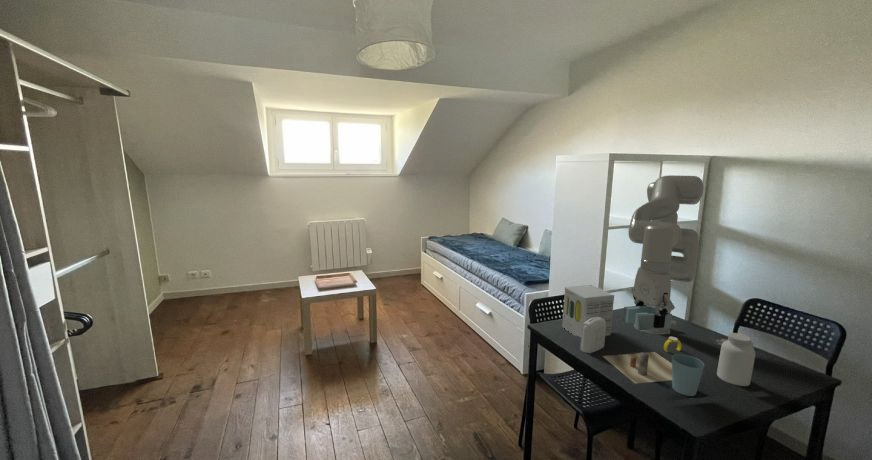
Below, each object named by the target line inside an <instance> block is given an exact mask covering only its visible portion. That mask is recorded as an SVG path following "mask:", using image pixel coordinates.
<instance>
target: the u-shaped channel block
mask: <svg viewBox="0 0 872 460" xmlns="http://www.w3.org/2000/svg"><path fill="white" fill-rule="evenodd" d="M661 310H662V309H661V308H660V311H661ZM655 315H657V314H656V310H655V307H654V306H651V305H649V306H636V305H634V306H623V317H622V321H623V322H625V323H626V324H634V323H635V327H634V328H636V329H638V330H652V329H667V328H669V329H671V327H672V326H671V321H672V319H673V318H672V317H673V314H672V313H671V312H670V313H669V314H668V315H667V316H665V324H664V328H654V327H653V325H654V316H655ZM636 329H635V330H636ZM638 330H637V331H638Z"/></svg>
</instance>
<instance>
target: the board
mask: <svg viewBox="0 0 872 460" xmlns="http://www.w3.org/2000/svg"><path fill="white" fill-rule="evenodd" d="M602 358H604V359H605V360H606V361H608V363H609V364H611V366H613V367H615V369H617V370H619V371H620V372H621V373H622V374H623V375H624V376H625V377H626V378H628V379H629V380H630V381H631V382H632V383H633V384H635V385H636V384H647V383H656V382H667V381H672V362H670V361H669V360H667V359H666V358H664V357H662V356H661V355H660V354H658V352H655V351H650V352H643V351H642V352H635V353H626V354H623V353H622V354H611V355H602Z"/></svg>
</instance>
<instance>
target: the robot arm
mask: <svg viewBox="0 0 872 460" xmlns="http://www.w3.org/2000/svg"><path fill="white" fill-rule="evenodd" d="M704 187H705V186H704V181H703V180H702V178H700V177H699V176H697V175H674V174H673V175H672V174H671V175H663V176H660V177H658V178H657V179H656V180H655V181H653V182H651V183H649V184H648V185H647V188H646V196H647V200H648V202H646V203H644V204H642V205H641V206H639V207H637V209H635V211H634V212H633V214H632V215H631V218H630V223H629V227H628V238H629V240H630V241H631V242H632V243H634V244H642V248H641V257H640V266H639V267H638V269H637V271H636V274H635V279H634V285H633V287H632V288H631V289H630V290H631V294H632V298H633V300H634V302H633V303H634V305H635V306H649V305H651V306H654V307H655V310H656V314H657V315H655V316H654V325H653V327H654V328H664V324H665V316H667V315H668V314H669V313H671V312H672V311H674V309H675V308H676V307H675V305H674V303H673V301H672V299H671V294H672V293H671V291H672V282H671V281H675V282H682V283H689V282H693V281H694V280H695V277H696V273H697V268H698V267H697V265H698V255H699V247H700V246H699V245H700V237H699V233H698V232H697V231H696V230H694V229H693V228H692V229H691V228H684V227H683V228H681V227H680V225H679V224H678V219H679V214H678V213H677V212H679V209H680V205H696V204H698V203H699V202H700V201H701V200H702V197H703V193H704ZM673 253H678V254H682V255H681V256H679V255H673ZM660 308H661V309H662V310H661V311H660ZM677 324H678V323H677V320H671V327H674V326H677ZM633 328H635V323H633ZM635 330H637V331H638V332H646V333H650V334H654V335H670V334H671V330H670V328H667V329H652V330H638V329H636V328H635Z"/></svg>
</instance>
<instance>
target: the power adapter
mask: <svg viewBox="0 0 872 460" xmlns="http://www.w3.org/2000/svg"><path fill="white" fill-rule="evenodd" d="M711 341H713V343H712V344H714V345H719V346H722V343H723V342H725V341H728V339H726V338H721V339H715V338H712V339H711ZM751 347H752V348H753V349H754V348H755V345H754V342H753V341H752V340H751Z"/></svg>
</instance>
